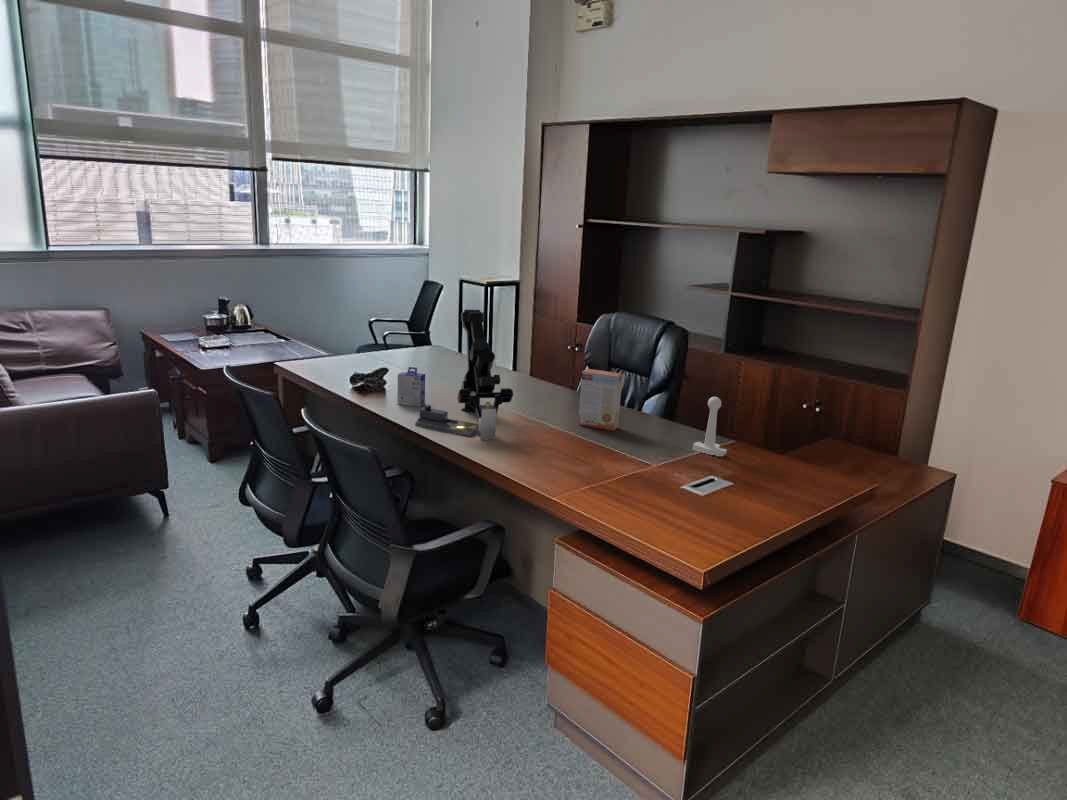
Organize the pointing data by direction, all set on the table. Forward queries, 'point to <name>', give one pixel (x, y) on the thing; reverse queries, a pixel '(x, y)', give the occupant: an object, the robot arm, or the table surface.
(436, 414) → the ram
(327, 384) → the table surface
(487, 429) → the housing
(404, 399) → the ink cartridge box
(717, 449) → the joystick
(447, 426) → the press bed
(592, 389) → the cracker box
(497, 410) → the robot arm
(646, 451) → the table surface
